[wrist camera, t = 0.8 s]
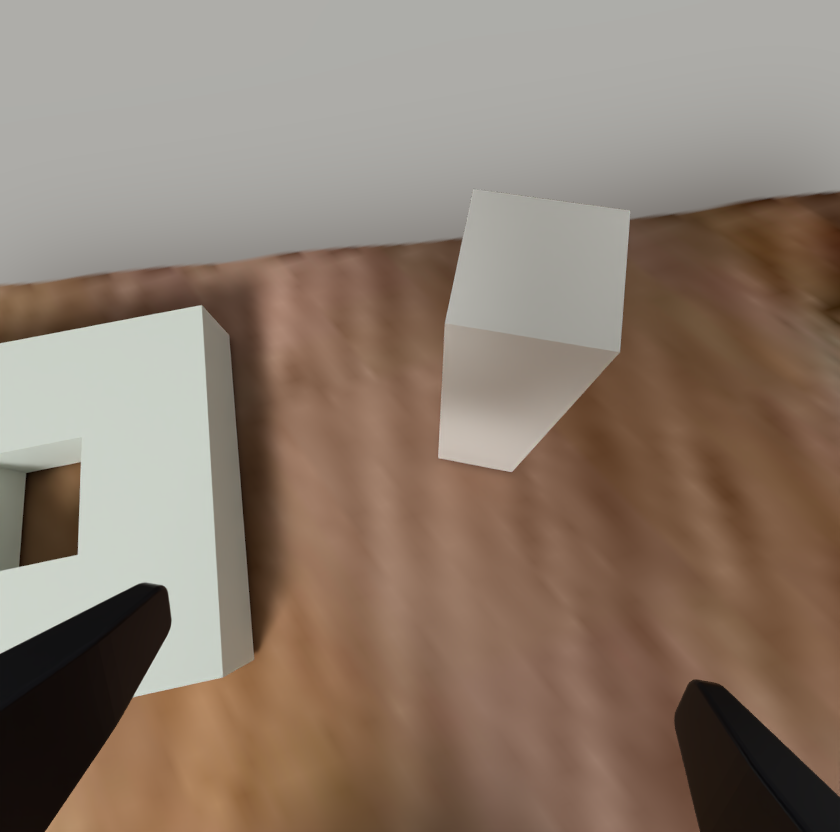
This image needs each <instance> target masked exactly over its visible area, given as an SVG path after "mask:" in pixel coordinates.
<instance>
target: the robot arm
mask: <svg viewBox="0 0 840 832" xmlns="http://www.w3.org/2000/svg"><path fill="white" fill-rule="evenodd" d="M171 622H172V617H171V610H170V603H169V595H168V590H167V589H166V587H165V586H163V585H159V584H153V583H147V582H144V583H139V584H137V585H135V586H133V587H131V588H129V589H127V590H125V591H123V592H121V593H119V594H117V595H115V596H113V597H111V598H109V599H107V600H105V601H103V602H101V603H99V604H97V605H95V606H93V607H91V608H89V609H87V610H85V611H83V612H81V613H79V614H77V615H76V616H74V617H72V618H70V619H68V620H66V621H64V622H62V623H60V624H58V625H56V626H54V627H52V628H50V629H48V630H46V631H44V632H42V633H40V634H38V635H36V636H34V637H32V638H30V639H28V640H26V641H24V642H22V643H20V644H18V645H16V646H14V647H12V648H10V649H8V650H6V651H4V652H2V653H0V832H45V831H46V829H47V828H48V826H49V825H50V823H51V822H52V820H53V819H54V817H55V816H56V814H57V813H58V812H59V810H60V809H61V807H62V806H63V804H64V803H65V801H66V800H67V798H68V797H69V795H70V794H71V792H72V791H73V789H74V788H75V786H76V785H77V784H78V782H79V781H80V779H81V778H82V776H83V775H84V773H85V772H86V770H87V769H88V767H89V766H90V764H91V763H92V761H93V760H94V758H95V757H96V756H97V754H98V753H99V751H100V750H101V748H102V747H103V745H104V744H105V742H106V741H107V739H108V738H109V736H110V735H111V733H112V732H113V730H114V728H115V727H116V725H117V724H118V722H119V720H120V719H121V717H122V715H123V714H124V712H125V710H126V709H127V707H128V705H129V703H130V701H131V700H132V698H133V696H134V694H135V692H136V691H137V689H138V687H139V685H140V684H141V682H142V680H143V678H144V676H145V675H146V673H147V671H148V669H149V668H150V666H151V664H152V662H153V660H154V659H155V657H156V655H157V653H158V651H159V650H160V648H161V646H162V644H163V643H164V641H165V639H166V637H167V635H168V633H169V631H170V628H171ZM674 722H675V730H676V734H677V738H678V742H679V747H680V751H681V755H682V759H683V763H684V767H685V772H686V776H687V780H688V784H689V788H690V792H691V796H692V801H693V805H694V809H695V813H696V817H697V821H698V825H699V829H700V832H840V797H839V796H838V795H837V794H836V793H835V792H834V791H833V790H832V789H831V788H830V787H829V786H827V785H826V784H825V783H824V782H823V781H822V780H821V779H820V778H819V777H818V776H817V775H816V774H815V773H814V772H813V771H812V770H811V769H810V768H809V767H807V766H806V765H805V764H804V763H803V762H802V761H801V760H800V759H799V758H798V757H797V756H796V755H795V754H794V753H793V752H792V751H791V750H790V749H789V748H788V747H786V746H785V745H784V744H783V743H782V742H781V741H780V740H779V739H778V738H777V737H776V736H775V735H774V734H773V733H772V732H771V731H770V730H769V729H768V728H766V727H765V726H764V725H763V724H762V723H761V722H760V721H759V720H758V719H757V718H756V717H755V716H754V715H753V714H752V713H751V712H750V711H749V710H748V709H747V708H745V707H744V706H743V705H742V704H741V703H740V702H739V701H738V700H737V699H736V698H735V697H734V696H733V695H732V694H731V693H730V692H729V691H728V690H726V689H725V688H724V687H723V686H721V685H720V684H717V683H714V682H708V681H702V680H692V681H691V682H689V684H688V686H687V688H686V690H685V692H684V694H683V696H682V699H681V701H680V703H679V705H678V707H677V709H676V712H675V719H674Z"/></svg>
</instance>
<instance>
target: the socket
mask: <svg viewBox="0 0 840 832" xmlns="http://www.w3.org/2000/svg"><path fill="white" fill-rule="evenodd" d="M78 462H81V478H80V506H79V534H78V555H75V556H70V557H65V558H60V559H55V560H51V561H46V562H41V563H36V564H31V565H27V566H22V567H19V560H20V547H21V534H22V520H23V507H24V494H25V480H26V473H28V472H33V471H38V470H43V469H48V468H53V467H58V466H63V465H68V464H73V463H78ZM144 582H147V583H153V584H159V585H163V586H165V587H166V589H167V590H168V595H169V603H170V610H171V617H172V622H171V628H170V631H169V633H168V635H167V637H166V639H165V641H164V643H163V644H162V646H161V648H160V650H159V651H158V653H157V655H156V657H155V659H154V660H153V662H152V664H151V666H150V668H149V669H148V671H147V673H146V675H145V676H144V678H143V680H142V682H141V684H140V685H139V687H138V689H137V691H136V692H135V694H134V696H133V697H136V696H140V695H145V694H149V693H154V692H158V691H163V690H168V689H172V688H177V687H181V686H186V685H190V684H195V683H199V682H204V681H208V680H213V679H218V678H222V677H224V676H226V675H228V674H230V673H232V672H233V671H235V670H237V669H239V668H240V667H242V666H244V665H246V664H248V663H249V662H251V661H253V660H254V650H253V637H252V624H251V611H250V598H249V585H248V572H247V559H246V546H245V533H244V520H243V507H242V494H241V481H240V468H239V455H238V442H237V429H236V416H235V403H234V391H233V378H232V365H231V352H230V339H229V334H228V333H227V332H226V331H225V330H224V329H223V328H222V327H221V326H220V325H219V323H218V322H217V321H216V320H215V319H214V318H213V317H212V316H211V315H210V314H209V312H208V311H207V310H206V309H205V308H204V307H203V306H202V305H200V306H194V307H189V308H184V309H179V310H173V311H168V312H163V313H158V314H152V315H147V316H142V317H136V318H131V319H126V320H121V321H115V322H110V323H105V324H100V325H94V326H89V327H84V328H79V329H73V330H68V331H63V332H58V333H52V334H47V335H42V336H37V337H31V338H26V339H21V340H16V341H10V342H5V343H0V653H2V652H4V651H6V650H8V649H10V648H12V647H14V646H16V645H18V644H20V643H22V642H24V641H26V640H28V639H30V638H32V637H34V636H36V635H38V634H40V633H42V632H44V631H46V630H48V629H50V628H52V627H54V626H56V625H58V624H60V623H62V622H64V621H66V620H68V619H70V618H72V617H74V616H76V615H77V614H79V613H81V612H83V611H85V610H87V609H89V608H91V607H93V606H95V605H97V604H99V603H101V602H103V601H105V600H107V599H109V598H111V597H113V596H115V595H117V594H119V593H121V592H123V591H125V590H127V589H129V588H131V587H133V586H135V585H137V584H139V583H144Z"/></svg>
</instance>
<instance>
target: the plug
mask: <svg viewBox="0 0 840 832" xmlns="http://www.w3.org/2000/svg"><path fill="white" fill-rule="evenodd" d="M629 223H630V210H623V209H616V208H609V207H601V206H594V205H587V204H580V203H572V202H565V201H558V200H551V199H543V198H536V197H529V196H522V195H514V194H507V193H500V192H492V191H485V190H478V189H473V192H472V196H471V202H470V206H469V211H468V216H467V221H466V225H465V230H464V235H463V239H462V244H461V249H460V254H459V259H458V263H457V268H456V273H455V278H454V282H453V287H452V292H451V297H450V301H449V306H448V311H447V316H446V321H445V332H444V352H443V372H442V392H441V412H440V432H439V452H438V458H441V459H446V460H451V461H456V462H461V463H466V464H472V465H477V466H482V467H487V468H492V469H498V470H503V471H508V472H512V471H513V470H514V469H515V468H516V467H517V466H518V465H519V464H520V463H521V461H522V460H523V459H524V458H525V457H526V456H527V455H528V454H529V453H530V451H531V450H532V449H533V448H534V447H535V446H536V445H537V444H538V443H539V441H540V440H541V439H542V438H543V437H544V436H545V435H546V434H547V433H548V431H549V430H550V429H551V428H552V427H553V426H554V425H555V424H556V423H557V422H558V420H559V419H560V418H561V417H562V416H563V415H564V414H565V413H566V412H567V410H568V409H569V408H570V407H571V406H572V405H573V404H574V403H575V402H576V400H577V399H578V398H579V397H580V396H581V395H582V394H583V393H584V392H585V390H586V389H587V388H588V387H589V386H590V385H591V384H592V383H593V382H594V380H595V379H596V378H597V377H598V376H599V375H600V374H601V373H602V372H603V370H604V369H605V368H606V367H607V366H608V365H609V364H610V363H611V362H612V360H613V359H614V358H615V357H616V356H617V355H618V354H619V353H620V345H621V331H622V318H623V304H624V291H625V277H626V264H627V250H628V237H629Z"/></svg>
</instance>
